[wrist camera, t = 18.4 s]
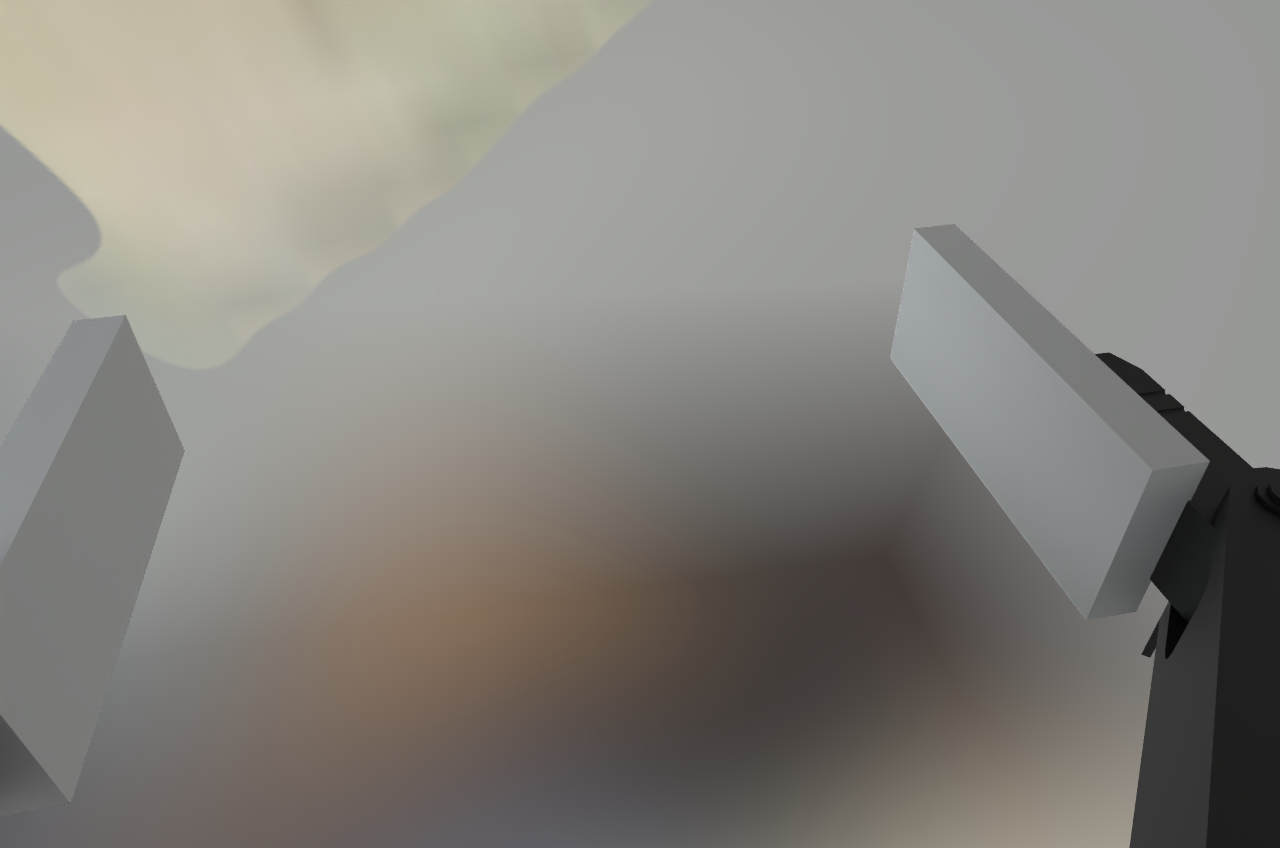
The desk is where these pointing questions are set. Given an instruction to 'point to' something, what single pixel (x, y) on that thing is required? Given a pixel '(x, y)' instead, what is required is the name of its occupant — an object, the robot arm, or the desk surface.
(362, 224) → the desk surface
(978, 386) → the robot arm
